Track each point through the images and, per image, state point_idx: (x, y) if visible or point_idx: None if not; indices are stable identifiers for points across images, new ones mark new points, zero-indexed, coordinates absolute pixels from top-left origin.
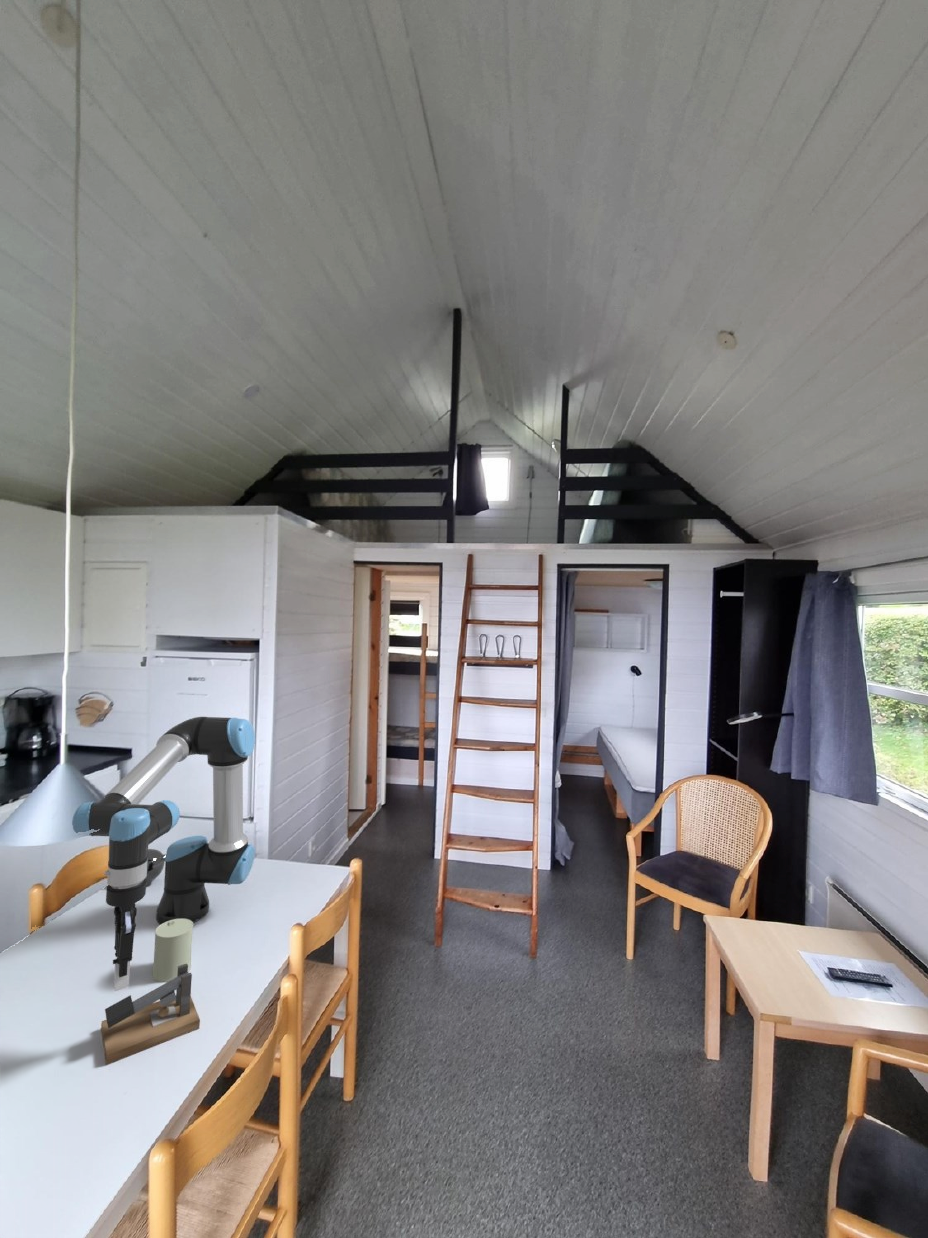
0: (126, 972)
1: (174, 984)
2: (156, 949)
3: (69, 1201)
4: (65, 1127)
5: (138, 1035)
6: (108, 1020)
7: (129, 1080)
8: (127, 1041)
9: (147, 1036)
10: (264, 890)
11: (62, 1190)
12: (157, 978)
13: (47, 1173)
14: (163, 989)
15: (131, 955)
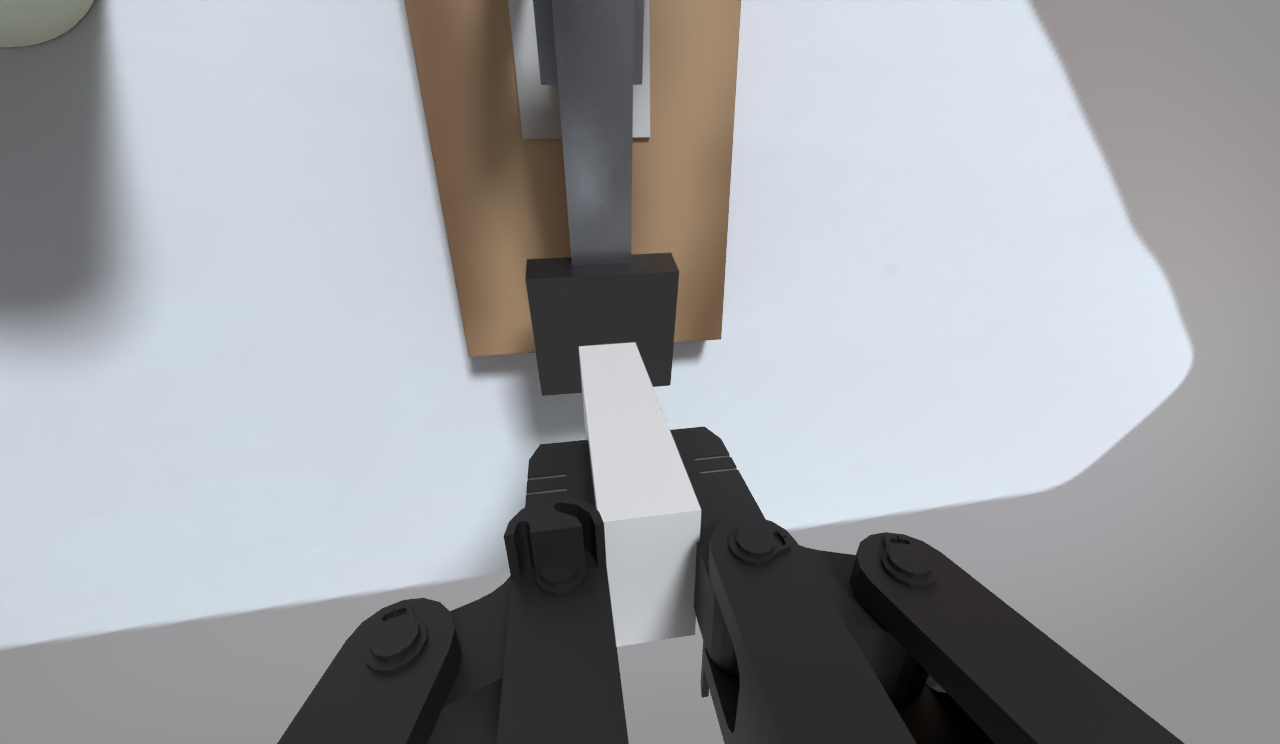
0: (724, 451)
1: None
2: None
3: (1111, 399)
4: (890, 421)
5: (674, 212)
6: (658, 380)
7: (843, 253)
8: (684, 261)
9: (706, 173)
10: None
11: (1070, 414)
12: (58, 17)
13: (997, 444)
14: (627, 48)
15: (1023, 627)
